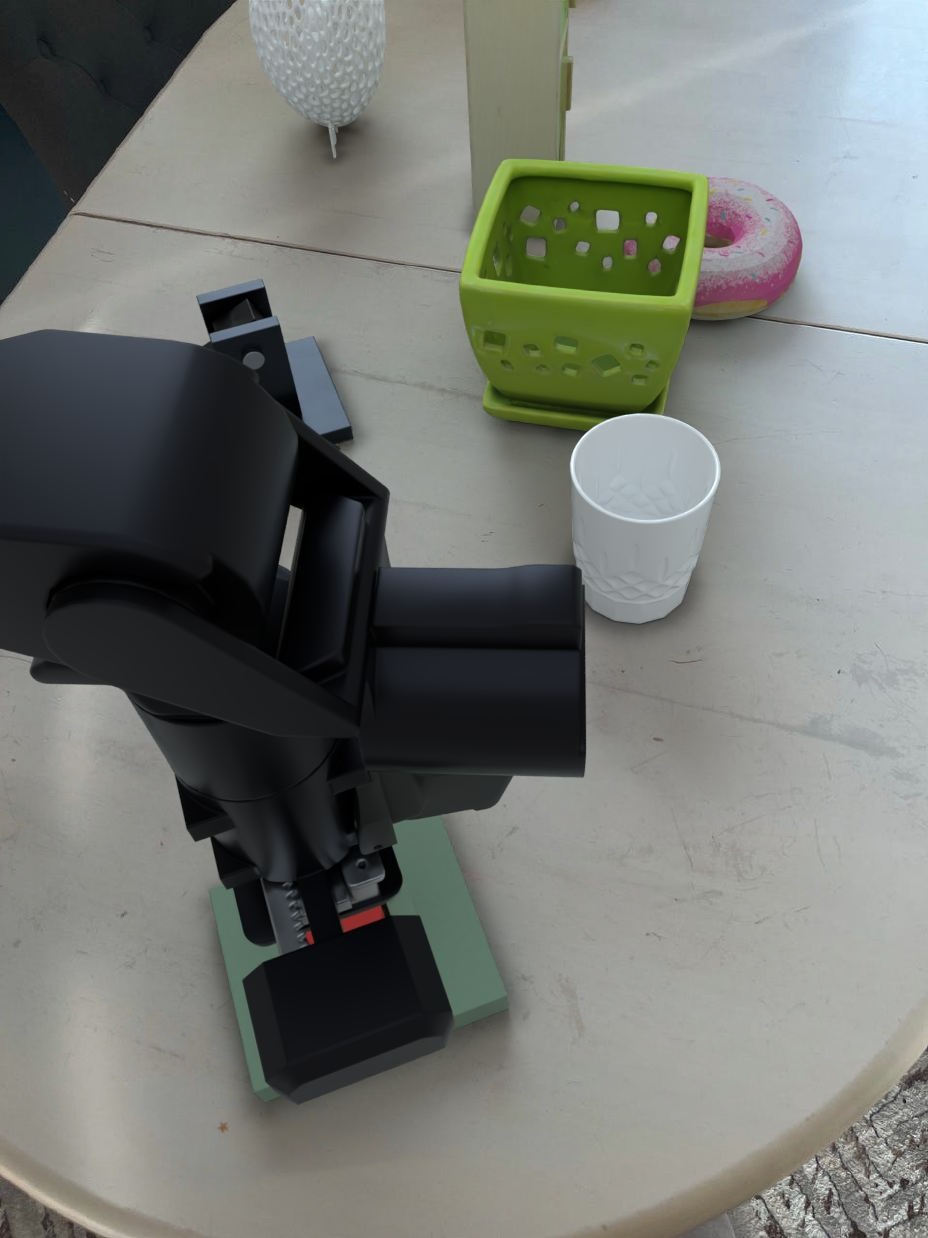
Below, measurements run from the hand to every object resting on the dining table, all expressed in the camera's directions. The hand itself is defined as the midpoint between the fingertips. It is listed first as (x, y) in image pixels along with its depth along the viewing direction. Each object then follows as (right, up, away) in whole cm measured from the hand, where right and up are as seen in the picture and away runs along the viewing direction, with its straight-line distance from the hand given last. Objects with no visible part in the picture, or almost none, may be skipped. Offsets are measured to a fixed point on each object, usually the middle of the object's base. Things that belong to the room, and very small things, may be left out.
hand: (332, 896), depth 46 cm
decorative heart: (-6, +56, +49) cm, 75 cm away
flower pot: (+14, +28, +29) cm, 43 cm away
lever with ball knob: (-13, +27, +25) cm, 39 cm away
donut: (+24, +38, +35) cm, 56 cm away
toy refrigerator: (+11, +46, +41) cm, 62 cm away
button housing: (0, -5, +6) cm, 8 cm away
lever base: (-8, +27, +29) cm, 40 cm away
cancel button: (0, -2, +3) cm, 4 cm away
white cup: (+16, +14, +19) cm, 28 cm away
